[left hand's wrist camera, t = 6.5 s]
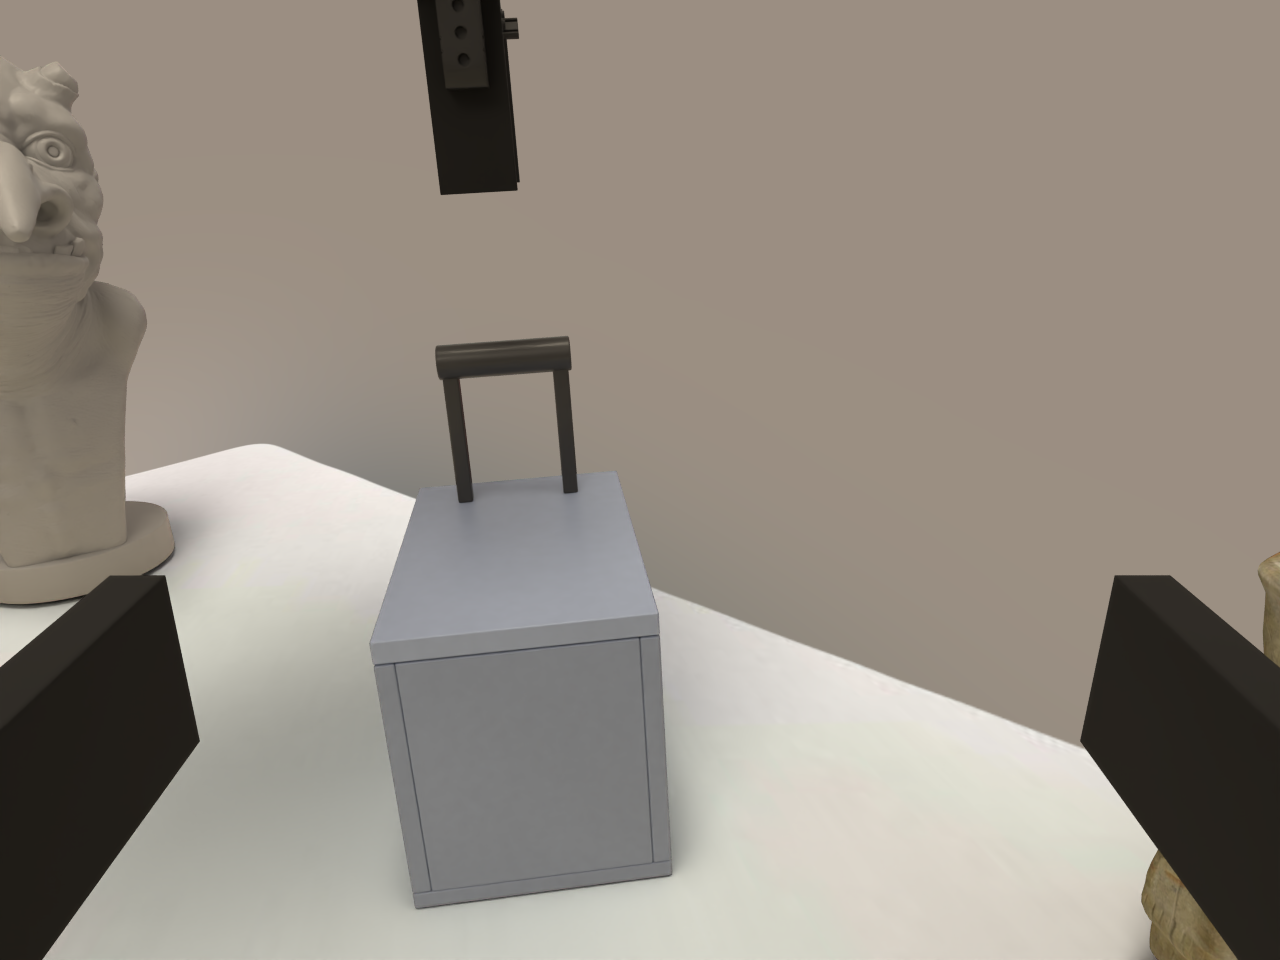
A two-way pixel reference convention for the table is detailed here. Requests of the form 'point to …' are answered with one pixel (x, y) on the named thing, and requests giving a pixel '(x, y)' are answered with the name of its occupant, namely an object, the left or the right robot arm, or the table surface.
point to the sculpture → (1178, 923)
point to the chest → (529, 768)
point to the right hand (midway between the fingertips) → (487, 188)
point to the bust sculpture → (62, 361)
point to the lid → (513, 541)
